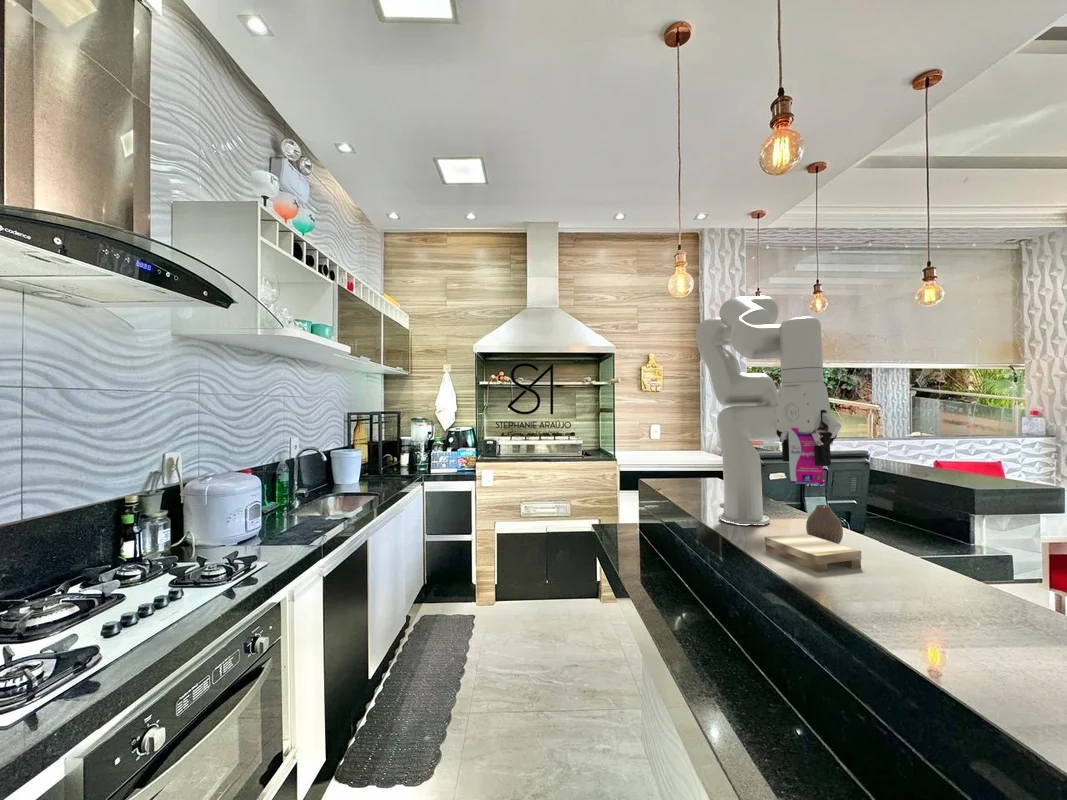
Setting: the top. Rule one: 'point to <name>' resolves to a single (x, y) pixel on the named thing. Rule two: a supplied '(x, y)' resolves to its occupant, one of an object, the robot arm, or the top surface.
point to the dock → (812, 551)
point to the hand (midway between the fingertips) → (805, 462)
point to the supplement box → (803, 459)
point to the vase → (824, 524)
